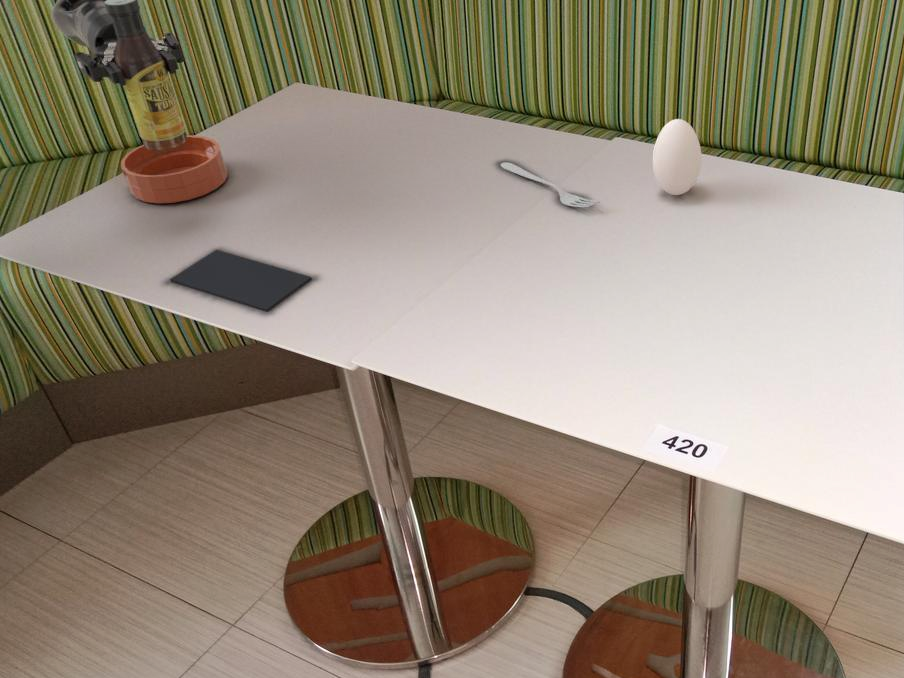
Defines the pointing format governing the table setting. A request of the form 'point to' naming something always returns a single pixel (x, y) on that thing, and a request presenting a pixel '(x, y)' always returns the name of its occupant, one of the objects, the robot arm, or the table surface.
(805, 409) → the table surface
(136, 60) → the sauce bottle
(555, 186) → the fork
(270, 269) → the mat
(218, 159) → the bowl
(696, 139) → the egg
